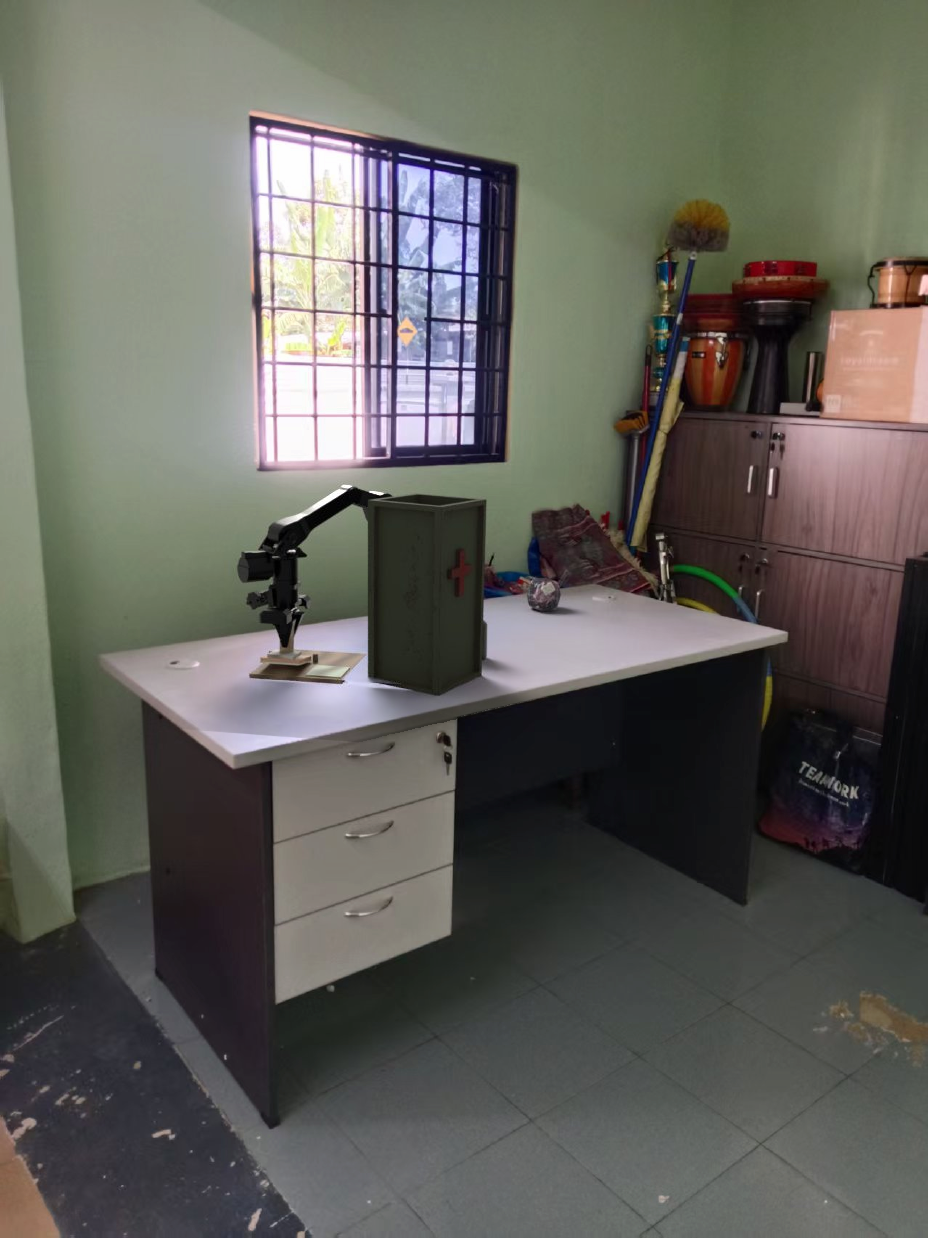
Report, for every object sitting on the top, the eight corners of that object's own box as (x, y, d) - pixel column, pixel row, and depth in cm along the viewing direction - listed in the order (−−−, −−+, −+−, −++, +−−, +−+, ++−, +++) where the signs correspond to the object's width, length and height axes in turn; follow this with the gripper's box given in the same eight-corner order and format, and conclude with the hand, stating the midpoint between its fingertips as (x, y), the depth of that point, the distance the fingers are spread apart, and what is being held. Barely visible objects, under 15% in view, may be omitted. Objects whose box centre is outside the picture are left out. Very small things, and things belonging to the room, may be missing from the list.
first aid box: (414, 662, 231) (415, 493, 222) (481, 675, 222) (486, 499, 213) (367, 681, 216) (367, 500, 207) (438, 695, 207) (441, 506, 198)
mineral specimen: (522, 606, 285) (525, 573, 287) (529, 613, 295) (532, 581, 297) (555, 608, 282) (558, 574, 284) (561, 615, 292) (564, 582, 294)
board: (366, 657, 235) (366, 646, 234) (341, 684, 213) (341, 671, 213) (281, 652, 237) (281, 640, 237) (249, 678, 216) (249, 665, 216)
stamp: (301, 654, 223) (302, 620, 222) (292, 659, 217) (293, 623, 216) (276, 653, 224) (276, 618, 223) (267, 657, 218) (267, 622, 217)
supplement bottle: (490, 656, 238) (491, 608, 236) (481, 663, 232) (483, 614, 229) (463, 653, 241) (464, 605, 238) (454, 660, 234) (455, 611, 232)
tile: (299, 659, 217) (299, 665, 217) (311, 655, 226) (311, 661, 226) (260, 657, 218) (260, 662, 218) (273, 653, 227) (273, 658, 227)
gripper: (265, 569, 228) (266, 633, 232) (235, 584, 210) (237, 654, 214) (311, 571, 227) (312, 636, 231) (285, 587, 209) (286, 657, 213)
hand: (286, 645), depth 222 cm, fingers closed on stamp, 3 cm apart
